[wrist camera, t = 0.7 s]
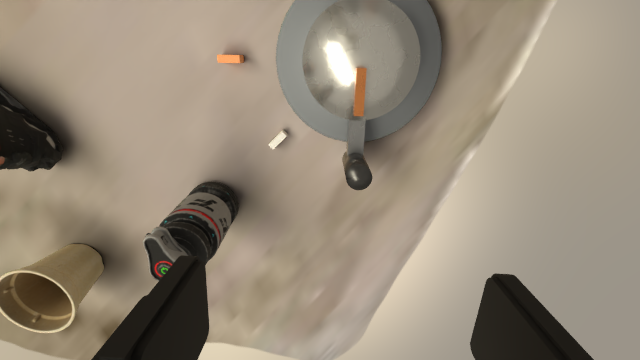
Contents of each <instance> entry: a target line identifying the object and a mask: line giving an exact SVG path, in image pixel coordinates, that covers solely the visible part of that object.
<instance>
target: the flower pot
mask: <svg viewBox="0 0 640 360" xmlns="http://www.w3.org/2000/svg"><path fill="white" fill-rule="evenodd" d="M103 270H104V265H103V263H102V257H101V256H100V254H99V253H98V252H97V251H96V250H94V249H93V248H91V247H89V246H87V245H84V244H70V245H67V246H65V247H64V248H62V249H60V250H58V251H56V252H55V253H53V254H51V255H49V256H47V257H45V258H43V259H42V260H40V261H38V262H36V263H34V264H32V265H30V266H27V267H24V268H21V269H18V270H13V271H10V272H8V273H6V274H4V275H2V276H1V277H0V312H1V313H2V314H3V315H4V316H5V317H6V318H7V319H9V320H10V321H11V322H13V323H14V324H16V325H18V326H20V327H22V328H25V329H27V330H30V331H34V332H40V333H53V332H58V331H61V330H63V329H65V328H66V327H68V326H69V325H70V324H71V323H72V321H73V320H74V318H75V315H76V311H77V309H78V307H79V304H80V302H81V301H82V300H83V298H84V297H85V295H86V294H87V293H88V291H89V290H90V289H91V287H92V286H93V284H94V283H95V282H96V280H97V279H98V278H99V276H100V275H101V274H102V272H103Z"/></svg>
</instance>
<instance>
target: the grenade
mask: <svg viewBox="0 0 640 360" xmlns="http://www.w3.org/2000/svg"><path fill="white" fill-rule="evenodd" d="M237 212H238V201H237V198H236V196H235V195H234V193H233V192H232V191H231V190H230V189H229V188H228V187H226V186H224V185H223V184H220V183H216V182H206V183H202V184H200V185H198V186H197V187H196V188H194V189H193V190H192V191H191V192H190V194H189V195H188V196H187V197H186V198H185V199H184V200H183V201H182V202H181V203H180V204H179V205H178V206H177V207H176V208H175V209H174V210H173V211H172V212H171V213H170V214H169V215H168V216H167V217H166V218H165V219H164V220H163V221H162V223H161V224H160V226H159V227H156V228H154V230H153V231H152V233H148V234H149V235H148V234H146V235H145V239H144V240H143V245H144V248H145V250H146V253H147V256H148V263H149V271H150V273H151V275H152V276H153V277H154V278H155V279H156V280H157V281H160V279H161V278H162V277H163V276H164V274H165V273H166V272H167V271H168V269H169V268H170V267H171V266H172V264H173V263H174V262H175V261H176V259H177V258H178V257H179V256H181V255H184V256H198V257H199V259H200V261H204V262H205V265H206V263H207V262H208V261H209V260H210V259H211V258H212V257H213V256H214V255H215V253H216V251H217V249H218V248H219V246H220V244H221V242H222V240H223V239H224V237H225V235H226V233H227V231H228V229H229V227H230V225H231V224H232V222H233V220H234V219H235V217H236V215H237ZM147 235H148V236H147ZM146 236H147V237H146Z"/></svg>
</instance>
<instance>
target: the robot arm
mask: <svg viewBox="0 0 640 360" xmlns="http://www.w3.org/2000/svg"><path fill="white" fill-rule="evenodd" d="M208 332H209V317H208V301H207V286H206V270H205V262H204V261H200V259H199V257H198V256H184V255H181V256H179V257H178V258H177V259H176V261H175V262H174V263H173V264H172V266H171V267H170V268H169V269H168V271H167V272H166V273H165V274H164V276H163V277H162V278H161V279H160V281H159V282H158V283H157V284H156V286H155V287H154V288H153V289H152V291H151V292H150V293H149V294H148V295H146V296H144V297H143V298H142V299H141V300H140V301H139V302H138V303H137V304H136V306H135V307H134V308H133V309H132V311H131V312H130V313H129V314H128V316H127V317H126V318H125V319H124V320H123V322H122V323H121V324H120V325H119V327H118V328H117V329H116V330H115V331H114V333H113V334H112V335H111V336H110V338H109V339H108V340H107V341H106V343H105V344H104V345H103V346H102V347H101V349H100V350H99V351H98V352H97V354H96V355H95V356H94V357H93V358H92V360H197V359H198V357H199V355H200V353H201V350H202V348H203V346H204V344H205V342H206V339H207V337H208ZM470 345H471V351H472V354H473V356H474V358H475V360H593V358H592V357H591V356H590V355H589V354H588V353H587V352H586V351H585V350H584V349H583V348H582V347H581V346H580V345H579V344H578V342H577V341H576V340H575V339H574V338H573V337H572V336H571V335H570V334H569V333H568V332H567V331H566V330H565V329H564V328H563V326H562V325H561V324H560V323H559V322H558V321H557V320H556V319H555V318H554V317H553V316H552V315H551V314H550V313H549V311H548V310H547V309H546V308H545V307H544V306H543V305H542V304H541V303H540V302H539V301H538V300H537V299H536V298H535V296H533V295H532V293H531V292H530V291H529V290H528V289H527V288H526V287H525V286H524V285H523V284H522V283H521V282H520V281H519V279H518V278H517V277H516V276H514V275H509V274H493V276H492V277H491V278H488V279H487V281H486V284H485V288H484V292H483V296H482V300H481V303H480V307H479V311H478V315H477V319H476V322H475V326H474V330H473V334H472V338H471V342H470Z"/></svg>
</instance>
